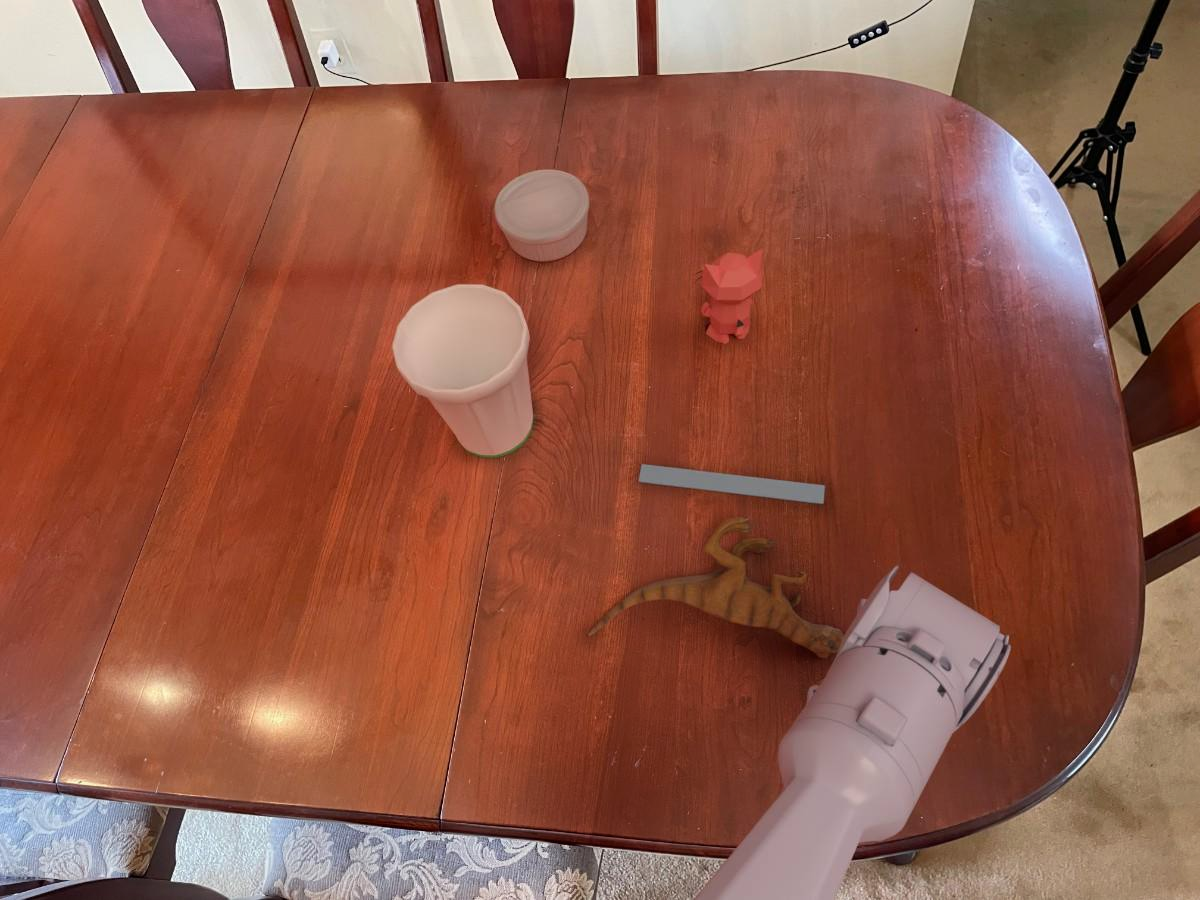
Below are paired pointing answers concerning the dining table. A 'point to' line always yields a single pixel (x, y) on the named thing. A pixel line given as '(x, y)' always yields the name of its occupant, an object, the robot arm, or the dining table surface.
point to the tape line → (732, 484)
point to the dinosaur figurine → (738, 594)
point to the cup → (470, 365)
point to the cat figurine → (731, 293)
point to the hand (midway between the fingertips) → (850, 739)
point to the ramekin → (543, 214)
